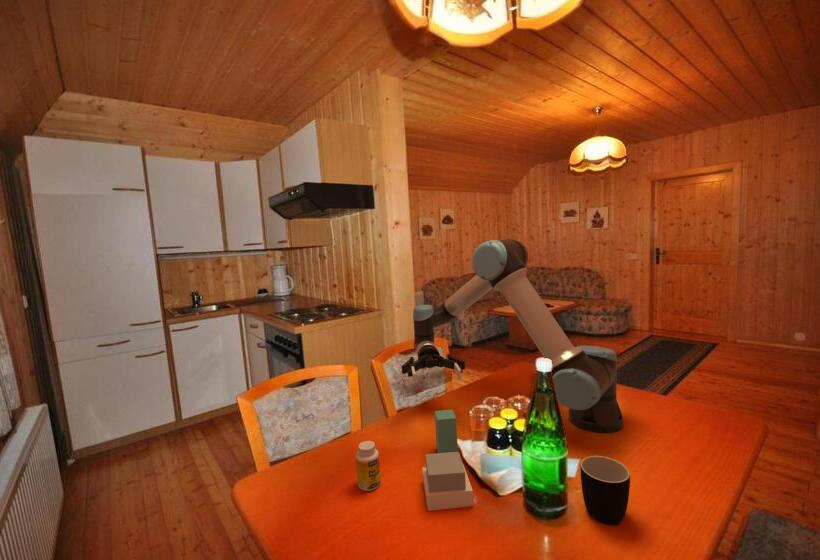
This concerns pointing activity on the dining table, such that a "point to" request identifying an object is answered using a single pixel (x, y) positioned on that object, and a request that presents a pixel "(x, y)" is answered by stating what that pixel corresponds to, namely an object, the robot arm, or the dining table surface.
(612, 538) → the dining table surface
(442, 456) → the grey brick
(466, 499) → the base brick
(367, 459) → the supplement bottle
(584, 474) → the mug
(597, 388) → the robot arm
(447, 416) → the teal brick
